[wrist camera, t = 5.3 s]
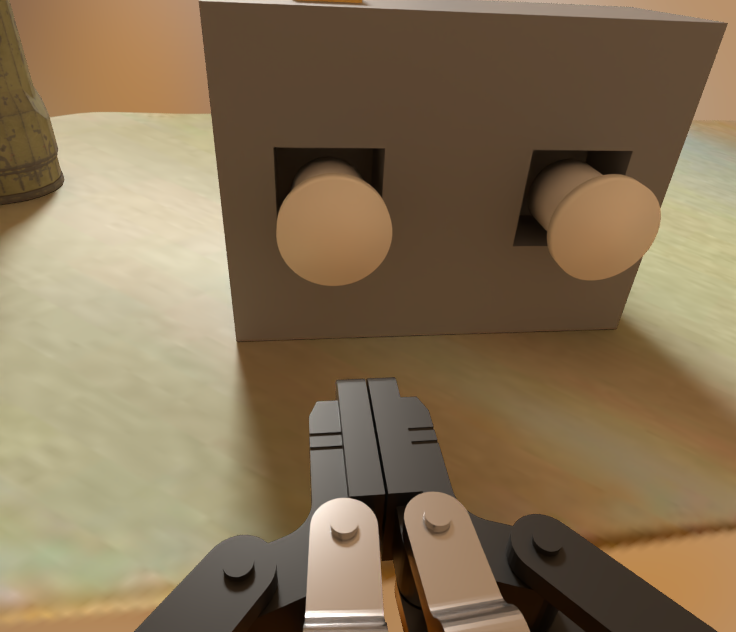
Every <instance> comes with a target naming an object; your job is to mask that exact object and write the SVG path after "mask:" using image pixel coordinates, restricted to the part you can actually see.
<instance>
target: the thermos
mask: <svg viewBox="0 0 736 632" xmlns="http://www.w3.org/2000/svg"><path fill="white" fill-rule="evenodd" d="M57 152H58V147H57V143H56V139H55V136H54V132H53V128H52V125H51V121H50V117H49V114H48V112H47V110H46V107H45V105H44V103H43V101H42V98H41V97H40V95H39V94H38V92H37V91H36V89H35V88H34V86H33V83H32V80H31V76H30V73H29V69H28V65H27V62H26V58H25V55H24V51H23V48H22V44H21V40H20V37H19V33H18V29H17V26H16V22H15V19H14V15H13V11H12V8H11V4H10V1H9V0H0V204H9V203H15V202H20V201H26V200H30V199H34V198H37V197H41V196H44V195H46V194H48V193H51V192H53V191H55V190H57V189H58V188H59V187H60V186H62V185H63V182H64V176H63V173H62V171H61V169H60V165H59V162H58V158H57Z"/></svg>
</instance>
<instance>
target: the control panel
mask: <svg viewBox="0 0 736 632" xmlns="http://www.w3.org/2000/svg"><path fill="white" fill-rule="evenodd" d="M199 8H200V17H201V26H202V35H203V44H204V53H205V62H206V71H207V79H208V88H209V98H210V106H211V116H212V125H213V134H214V143H215V152H216V161H217V170H218V179H219V188H220V197H221V206H222V215H223V224H224V233H225V242H226V251H227V260H228V269H229V278H230V287H231V296H232V305H233V314H234V323H235V332H236V341H260V340H291V339H321V338H352V337H382V336H412V335H443V334H473V333H504V332H534V331H564V330H595V329H616V328H617V326H618V323H619V320H620V317H621V315H622V312H623V309H624V306H625V304H626V301H627V298H628V296H629V293H630V290H631V287H632V285H633V282H634V279H635V276H636V274H637V271H638V268H639V265H640V263H641V260H642V257H643V256H642V257H641V258H640V259H639V260H638V261H637V262H636V263H635V264H633V265H632V266H631V267H629V268H628V269H626V270H625V271H623V272H621V273H619V274H617V275H615V276H612V277H609V278H606V279H601V280H581V279H578V278H575V277H573V276H571V275H569V274H567V273H566V272H565V271H564V270H563V269H562V268H561V267H560V266H559V265H558V263H557V262H556V261H555V260H554V259H553V257H552V256H551V254H550V252H549V249H548V245H547V231H546V230H545V229H544V228H543V227H542V226H541V224H540V223H539V222H538V221H537V220H536V219H535V218H534V217H533V215H532V214H531V212H530V210H529V206H528V194H529V190H530V187H531V185H532V183H533V181H534V180H535V178H536V177H537V176H538V174H539V173H540V172H541V171H542V170H543V169H545V168H546V167H547V166H549V165H550V164H552V163H554V162H556V161H559V160H562V159H570V158H571V159H578V160H581V161H584V162H585V163H587V164H588V165H590V166H591V167H593V168H594V169H595V170H597V171H598V172H600V173H601V174H602V175H607V174H621V175H625V176H629V177H631V178H633V179H635V180H637V181H638V182H640V183H641V184H643V185H644V186H646V187H647V188H649V189H650V190H651V191H652V192H653V194H654V195H655V196H656V198H657V200H658V202H659V206H660V208H661V205H662V202H663V200H664V197H665V194H666V191H667V189H668V186H669V183H670V180H671V178H672V175H673V172H674V169H675V167H676V164H677V161H678V158H679V156H680V153H681V150H682V148H683V145H684V142H685V139H686V137H687V134H688V131H689V128H690V126H691V123H692V120H693V117H694V114H695V112H696V109H697V106H698V104H699V101H700V98H701V95H702V93H703V90H704V87H705V84H706V82H707V79H708V76H709V74H710V71H711V68H712V65H713V63H714V60H715V57H716V54H717V52H718V49H719V46H720V43H721V40H722V38H723V35H724V32H725V30H726V27H727V24H728V23H724V22H719V21H712V20H706V19H700V18H694V17H688V16H681V15H676V14H670V13H663V12H657V11H652V10H645V9H640V8H633V7H617V6H595V5H572V4H550V3H528V2H505V1H482V0H199ZM320 157H337V158H340V159H343V160H345V161H347V162H349V163H350V164H352V165H353V166H354V167H355V168H356V169H357V170H358V172H359V173H360V175H361V177H362V179H363V180H364V181H365V182H367V183H368V184H370V185H371V186H372V187H373V188H374V189H375V190H376V191H377V192H378V193H379V195H380V196H381V197H382V199H383V201H384V203H385V205H386V207H387V210H388V212H389V215H390V219H391V223H392V241H391V245H390V248H389V251H388V253H387V255H386V257H385V258H384V260H383V262H382V263H381V264H380V265H379V266H378V267H377V268H376V269H375V270H374V271H373V272H372V273H371V274H369V275H368V276H366V277H365V278H363V279H361V280H359V281H356V282H354V283H350V284H346V285H340V286H326V285H320V284H316V283H313V282H310V281H308V280H306V279H304V278H302V277H300V276H299V275H298V274H296V273H295V272H294V271H293V270H292V269H291V268H290V267H289V266H288V265H287V264H286V263H285V261H284V259H283V258H282V256H281V253H280V251H279V248H278V245H277V238H276V229H277V218H278V213H279V210H280V207H281V205H282V203H283V201H284V199H285V198H286V196H287V195H288V194H289V193H290V192H291V187H292V183H293V180H294V177H295V175H296V174H297V172H298V171H299V170H300V169H301V167H303V166H304V165H305V164H306V163H308V162H309V161H311V160H313V159H316V158H320Z"/></svg>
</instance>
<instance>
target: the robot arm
mask: <svg viewBox="0 0 736 632" xmlns="http://www.w3.org/2000/svg"><path fill="white" fill-rule="evenodd" d="M309 442H310V476H311V503H312V507H311V511H310V513H309V516H308V518H307V519H306V521H305V522H304V523H303V524H302V525H301V526H300V527H299V528H298V529H297V530H296V531H294V532H293V533H291V534H289V535H287V536H285V537H282V538H280V539H277V540H275V541H272V542H270V543H267V542H265V541H264V540H262V539H260V538H258V537H255V536H251V535H239V536H234V537H231V538H228V539H226V540H224V541H222V542H221V543H219V544H218V545H216V546H215V547H214V548H213V549H212V550H211V551H210V552H209V553H208V554H207V555H206V556H205V557H204V558H203V560H202V561H201V562H200V563H199V564H198V565H197V566H196V567H195V568H194V569H193V570H192V571H191V572H190V573H189V574H188V575H187V576H186V577H185V578H184V579H183V581H182V582H181V583H180V584H179V585H178V586H177V587H176V588H175V589H174V590H173V591H172V592H171V593H170V594H169V595H168V596H167V597H166V598H165V599H164V600H163V602H162V603H161V604H160V605H159V606H158V607H157V608H156V609H155V610H154V611H153V612H152V613H151V614H150V615H149V616H148V617H147V618H146V620H144V622H143V623H142V624H141V625H140V626H139V627H138V628H137V629H136V630H135V631H134V632H388V628H387V623H386V622H385V619H384V609H383V594H382V578H381V563H380V552H381V559H382V561H388V560H393V562H394V568H395V574H396V582H395V597H396V601H397V605H398V610H399V614H400V618H401V623H402V626H403V631H404V632H717V631H716V630H714V629H713V628H712V627H710V626H709V625H707V624H706V623H704V622H703V621H702V620H700V619H699V618H697V617H696V616H694V615H693V614H692V613H690V612H689V611H687V610H686V609H684V608H683V607H682V606H680V605H678V604H677V603H676V602H674V601H673V600H672V599H670V598H669V597H667V596H666V595H664V594H663V593H662V592H660V591H659V590H657V589H656V588H654V587H653V586H652V585H650V584H649V583H647V582H646V581H644V580H643V579H642V578H640V577H639V576H637V575H636V574H635V573H633V572H632V571H630V570H629V569H627V568H626V567H625V566H623V565H622V564H620V563H618V562H617V561H616V560H615V559H613V558H611V557H610V556H609V555H607V554H606V553H605V552H603V551H602V550H600V549H599V548H597V547H596V546H595V545H593V544H592V543H590V542H589V541H587V540H586V539H585V538H583V537H582V536H580V535H579V534H577V533H576V532H575V531H573V530H572V529H570V528H569V527H567V526H566V525H565V524H563V523H562V522H560V521H558V520H557V519H554V518H552V517H549V516H546V515H541V514H531V515H527V516H524V517H522V518H520V519H519V520H517V521H516V523H515V524H514V525H513V526H511V525H506V524H502V523H497V522H493V521H488V520H485V519H482V518H479V517H477V516H475V515H473V514H472V513H470V512H469V511H467V510H466V509H465V507H464V506H463V505H462V504H461V503H460V502H459V501H458V500H457V499H456V497H455V495H454V493H453V490H452V487H451V483H450V480H449V477H448V473H447V470H446V467H445V463H444V460H443V457H442V453H441V450H440V447H439V443H438V442H437V437H436V433H435V430H434V429H433V423H432V420H431V417H430V413H429V410H428V409H427V408H426V407H425V406H424V405H423V404H422V402H421V401H420V400H419V399H418V398H417V397H400V394H399V390H398V386H397V382H396V379H395V378H394V377H391V378H368V379H366V381H365V379H348V380H336V401H317V402H316V404H315V406H314V408H313V410H312V412H311V414H310V416H309Z"/></svg>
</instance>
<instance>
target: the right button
mask: <svg viewBox="0 0 736 632" xmlns="http://www.w3.org/2000/svg"><path fill="white" fill-rule="evenodd" d="M528 206H529V210H530V212H531V214H532V215H533V217H534V218H535V219H536V220H537V221H538V222H539V223H540V224H541V226H542V227H543V228H544V229H545V230H546V231H547V245H548V249H549V252H550V254H551V256H552V257H553V259H554V260H555V261H556V262H557V263H558V265H559V266H560V267H561V268H562V269H563V270H564V271H565V272H566V273H567V274H569V275H571V276H573V277H575V278H578V279H581V280H601V279H606V278H609V277H612V276H615V275H617V274H619V273H621V272H623V271H625V270H626V269H628V268H629V267H631V266H632V265H633V264H635V263H636V262H637V261H638V260H639V259H640V258H641V257H642V256H643V255H644V254H645V253H646V252H647V250H648V249H649V248H650V246H651V245H652V243H653V241H654V239H655V237H656V235H657V233H658V229H659V226H660V220H661V211H660V206H659V202H658V200H657V198H656V196H655V195H654V194H653V192H652V191H651V190H650V189H649V188H647V187H646V186H644V185H643V184H641V183H640V182H638V181H637V180H635V179H633V178H631V177H629V176H625V175H621V174H607V175H602V174H601V173H600V172H598V171H597V170H595V169H594V168H593V167H591V166H590V165H588V164H587V163H585V162H584V161H581V160H578V159H571V158H570V159H562V160H559V161H556V162H554V163H552V164H550V165H549V166H547V167H546V168H545V169H543V170H542V171H541V172H540V173H539V174H538V176H537V177H536V178H535V180H534V181H533V183H532V185H531V187H530V190H529V194H528Z"/></svg>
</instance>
